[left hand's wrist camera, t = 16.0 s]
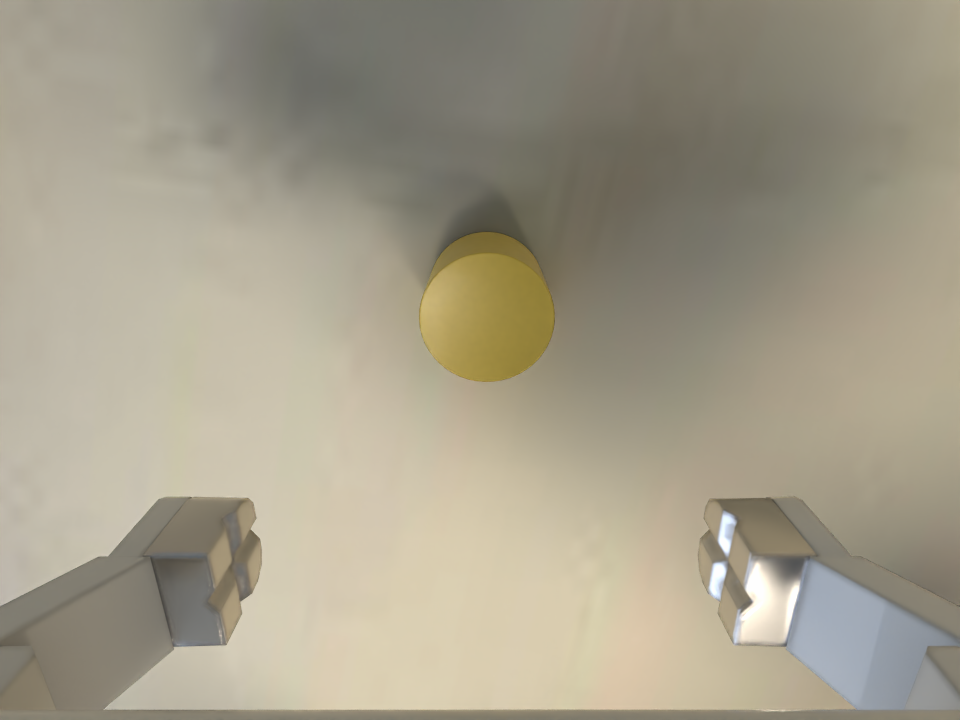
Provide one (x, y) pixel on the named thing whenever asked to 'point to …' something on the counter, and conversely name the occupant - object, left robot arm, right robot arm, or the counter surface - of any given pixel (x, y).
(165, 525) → the left robot arm
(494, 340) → the yellow cylinder
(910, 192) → the counter surface
